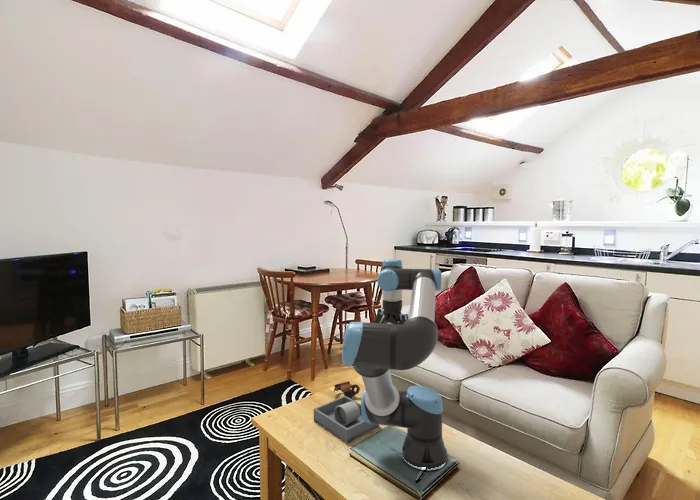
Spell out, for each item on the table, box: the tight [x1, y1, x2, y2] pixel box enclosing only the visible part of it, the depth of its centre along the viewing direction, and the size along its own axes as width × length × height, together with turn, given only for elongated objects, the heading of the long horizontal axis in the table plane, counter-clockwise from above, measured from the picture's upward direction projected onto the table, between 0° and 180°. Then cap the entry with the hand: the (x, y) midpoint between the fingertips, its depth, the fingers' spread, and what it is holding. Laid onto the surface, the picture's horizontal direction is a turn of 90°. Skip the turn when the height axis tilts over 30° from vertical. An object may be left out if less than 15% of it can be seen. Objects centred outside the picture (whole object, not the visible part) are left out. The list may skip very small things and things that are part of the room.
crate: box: [313, 395, 380, 444], centre depth 152 cm, size 21×17×5 cm
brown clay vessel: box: [333, 381, 361, 400], centre depth 174 cm, size 12×10×8 cm
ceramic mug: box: [334, 402, 360, 426], centre depth 152 cm, size 11×8×8 cm
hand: (392, 352), depth 149 cm, fingers open, 13 cm apart
